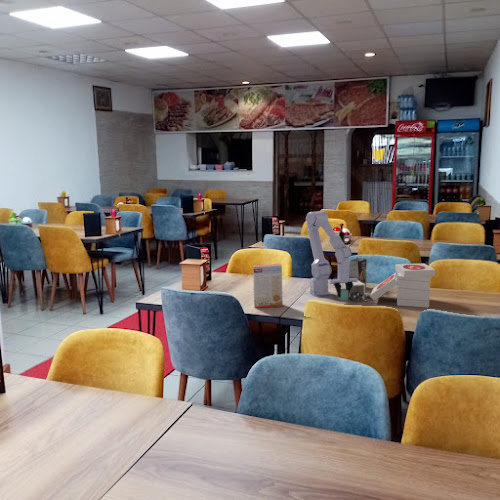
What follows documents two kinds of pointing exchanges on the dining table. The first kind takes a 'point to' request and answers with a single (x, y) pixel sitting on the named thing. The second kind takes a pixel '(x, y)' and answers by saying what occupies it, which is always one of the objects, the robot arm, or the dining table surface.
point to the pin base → (359, 297)
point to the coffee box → (358, 269)
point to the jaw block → (344, 295)
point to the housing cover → (357, 287)
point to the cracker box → (267, 285)
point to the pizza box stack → (408, 285)
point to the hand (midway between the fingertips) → (343, 296)
